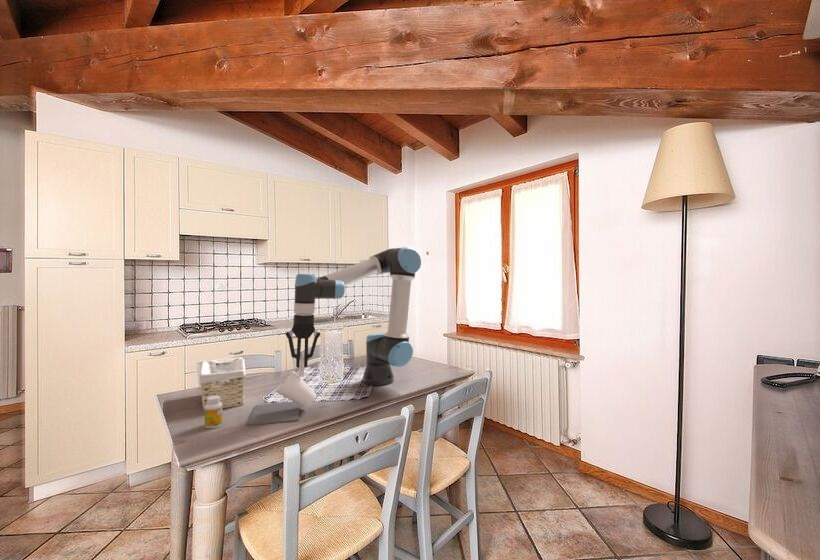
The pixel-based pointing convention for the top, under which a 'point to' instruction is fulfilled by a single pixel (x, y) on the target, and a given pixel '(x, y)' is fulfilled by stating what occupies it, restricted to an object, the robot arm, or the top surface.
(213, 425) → the supplement bottle
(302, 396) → the foam cup
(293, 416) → the charcoal mat
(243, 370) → the storage basket
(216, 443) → the top surface
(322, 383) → the top surface
